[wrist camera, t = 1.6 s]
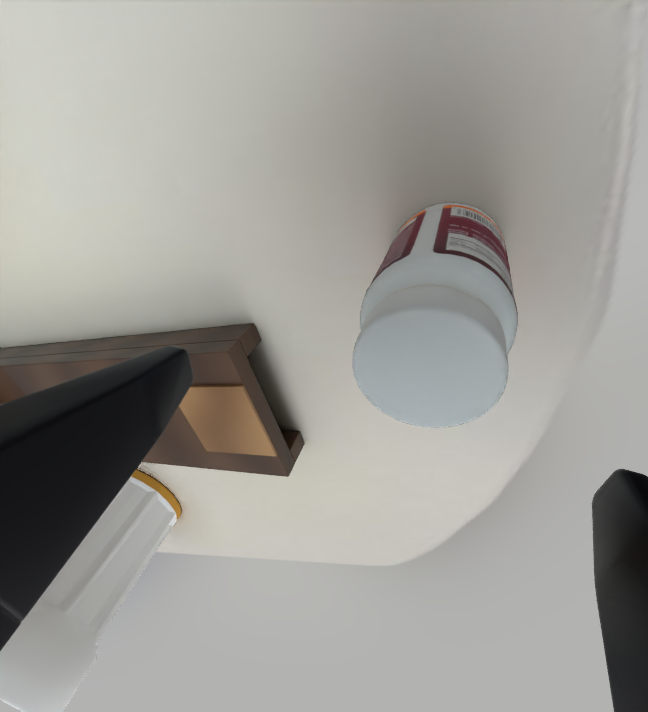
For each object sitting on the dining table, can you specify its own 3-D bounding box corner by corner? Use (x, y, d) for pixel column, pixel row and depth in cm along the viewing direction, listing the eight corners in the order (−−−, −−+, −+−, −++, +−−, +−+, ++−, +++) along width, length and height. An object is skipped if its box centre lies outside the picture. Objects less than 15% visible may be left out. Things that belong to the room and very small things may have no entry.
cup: (101, 490, 45) (-56, 662, 32) (99, 442, 38) (-107, 640, 24) (184, 536, 45) (60, 728, 32) (197, 496, 38) (44, 725, 24)
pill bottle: (406, 314, 18) (366, 440, 12) (378, 219, 16) (312, 311, 10) (513, 296, 16) (534, 438, 10) (499, 183, 14) (514, 273, 8)
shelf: (254, 323, 22) (202, 379, 18) (305, 443, 27) (273, 509, 23) (-12, 349, 34) (-79, 387, 30) (58, 429, 39) (8, 470, 35)
